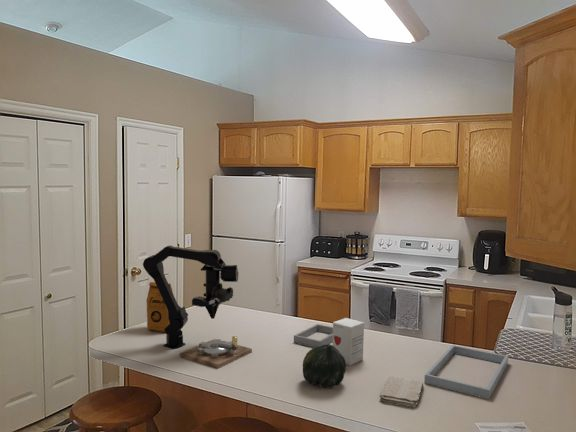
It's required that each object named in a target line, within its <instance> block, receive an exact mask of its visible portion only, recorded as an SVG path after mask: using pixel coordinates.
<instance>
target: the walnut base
mask: <svg viewBox="0 0 576 432" xmlns="http://www.w3.org/2000/svg"><path fill="white" fill-rule="evenodd" d="M215 339H216V338H213V339H211V340H209V341H215ZM209 341H207V342H209ZM237 347H238V349H237V350H234V353H233V354H231V355H229V354H226V355H222V356H218V358H212V356H207V355H199V354H198V348H199V344H198V345H196V346H194V347H191V348H189V349H186V350H184V351H181V352H179V357H180V358H182V359H186V360H190V361H193V362H195V363H198V364H203V365H205V364H206V366H209V367H213V368H215V369H221V368H222V367H225V366H226V365H228V364H230V363H233V362H234V361H235V362H236V361H237V360H239V359H241V358H243V357H245V356H247V355H249V354H251V353H253V348H251V347H247V346H243V345H241V344H237Z"/></svg>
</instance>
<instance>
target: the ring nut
mask: <svg viewBox="0 0 576 432" xmlns="http://www.w3.org/2000/svg"><path fill="white" fill-rule="evenodd" d="M214 339H215V341H211V340H209V342H208V341H206V342H205V341H201V342H199V343H198V345H199V348H198V354H199V355H207V356H212V358H218V356H222V355H226V354H229V355H231V354H233V353H234V350H237V349H238V347H237V345H238V336H237V335H235V336H232V337H231V341H226V340H221V339H220V338H218V339H217V338H214Z"/></svg>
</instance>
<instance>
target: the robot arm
mask: <svg viewBox="0 0 576 432" xmlns="http://www.w3.org/2000/svg"><path fill="white" fill-rule="evenodd" d="M169 257H172V258H179V259H184V260H189V261H190V260H191V261H196V262H199V263H201V264H203V266H202V267H201V268H200V271H202V272H203V271H205V282H204V283H203V287H205V292H204V293H203V296H200V295H199V296H195V297H193V298H192V299H191V305H192V306H196V307H200V308H205V309H206V311H207V313H208V316H209V317H210V319H213V320H214V319H215V317H216V314H217V311H218V308H219V306H220V305H221V304H222V303H226V302H229V301H230V300H231V299H233V296H234V288H233V287H227V288H224V287H223V283H221V282H220V280H221V281H222V282H230V283H234V282H235V283H237V282H238V280H239V269H238V265H237V264H233V265H232V264H231V265H229V264H227V265H226V263H225V261H224V260H223V258H222V255H221V253H220V252H219V251H218V250H217V249H203V250H197V249H191V248H183V247H178V246H173V245H167V246H165V247H164V248H162V249H161V250H160V251H158V252H157V253H155V254H153V255H151V256H148V257H146V258H145V259H144V260H143V262H142V266H143V269H144V270H145V271H146V273H147V275H148V276H150V277H151V278H152V279H153V282H155V283H156V285H157V288H158V290H159V292H160V294H161V296H162V299H163V301H164V303H165V305H166V307H167V309H168V319H169V322H170V324H169V325H168V326H167V327H166V328H165V329H164V330H165V332H164V333H165V334H166V339H165V340H166V343H164V344H163V347H167V348H170V349H174V350H175V349H178V348H181V347H182V346H185V345H186V343H185V342H184V335H183V330H182V329H183V328H184V326H185V325H186V324H187V323H188V321H189V318H188V316H189V313H188V312H187V310H186V307H185V306H183V307H181V306H180V305H179V304H178V301H177V299H176V297H175V294H174V292H173V293H172V291H173V290H172V291H171V288H170V286H169V284H170V283H169V282H168V280H167V278H166V275H165V271H164V270H165V269H164V263H163V262H164V261H165V260H167V258H169Z"/></svg>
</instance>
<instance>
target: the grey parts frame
mask: <svg viewBox="0 0 576 432" xmlns="http://www.w3.org/2000/svg"><path fill="white" fill-rule="evenodd" d="M317 332H319V333H325V334H328V335H327V336H325V337H323V338H322V339H315V338H310V337H309V336H311V335H314V334H315V333H317ZM293 343H295V344H300V345H303V346H308V347H312V348H316V347H319V346H322V345H328V344H329V345H330V344H331V343H333V326H329V325H324V324H319V323H316V324H314V325H312V326H310V327H308V328H306V329H304V330H302V331H301V332H299V333H296V334H295V335H293Z"/></svg>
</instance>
